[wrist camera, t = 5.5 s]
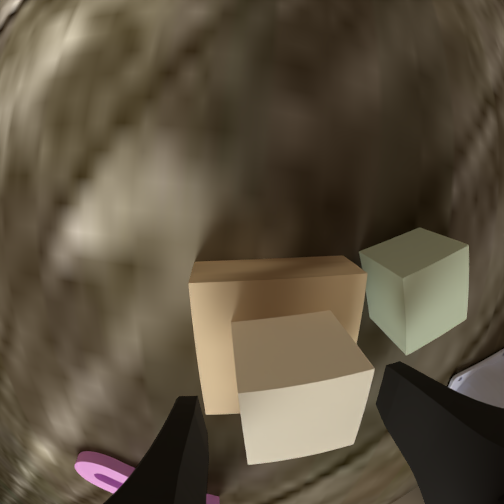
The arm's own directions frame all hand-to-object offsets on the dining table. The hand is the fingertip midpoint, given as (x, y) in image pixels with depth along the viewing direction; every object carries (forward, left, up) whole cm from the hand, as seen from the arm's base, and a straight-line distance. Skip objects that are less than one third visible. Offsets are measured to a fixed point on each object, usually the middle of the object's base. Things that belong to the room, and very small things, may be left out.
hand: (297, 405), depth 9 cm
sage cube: (-7, -2, -6) cm, 9 cm away
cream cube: (0, 0, -3) cm, 3 cm away
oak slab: (0, 0, -6) cm, 6 cm away
